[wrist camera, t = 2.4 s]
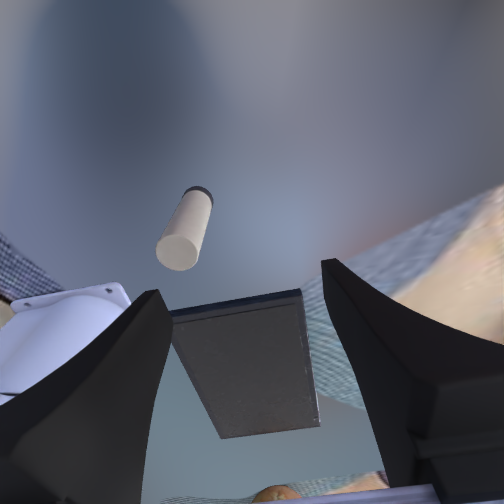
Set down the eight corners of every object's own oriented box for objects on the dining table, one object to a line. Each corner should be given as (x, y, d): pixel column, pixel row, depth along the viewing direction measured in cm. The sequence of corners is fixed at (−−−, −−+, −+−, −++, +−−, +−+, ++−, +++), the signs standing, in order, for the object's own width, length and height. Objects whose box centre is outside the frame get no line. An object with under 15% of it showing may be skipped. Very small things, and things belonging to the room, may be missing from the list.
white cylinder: (188, 217, 20) (163, 275, 14) (178, 189, 19) (147, 238, 13) (216, 211, 20) (204, 267, 14) (208, 183, 18) (191, 230, 12)
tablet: (221, 430, 34) (220, 440, 33) (162, 311, 24) (159, 320, 23) (319, 417, 33) (321, 427, 32) (300, 287, 23) (302, 296, 22)
